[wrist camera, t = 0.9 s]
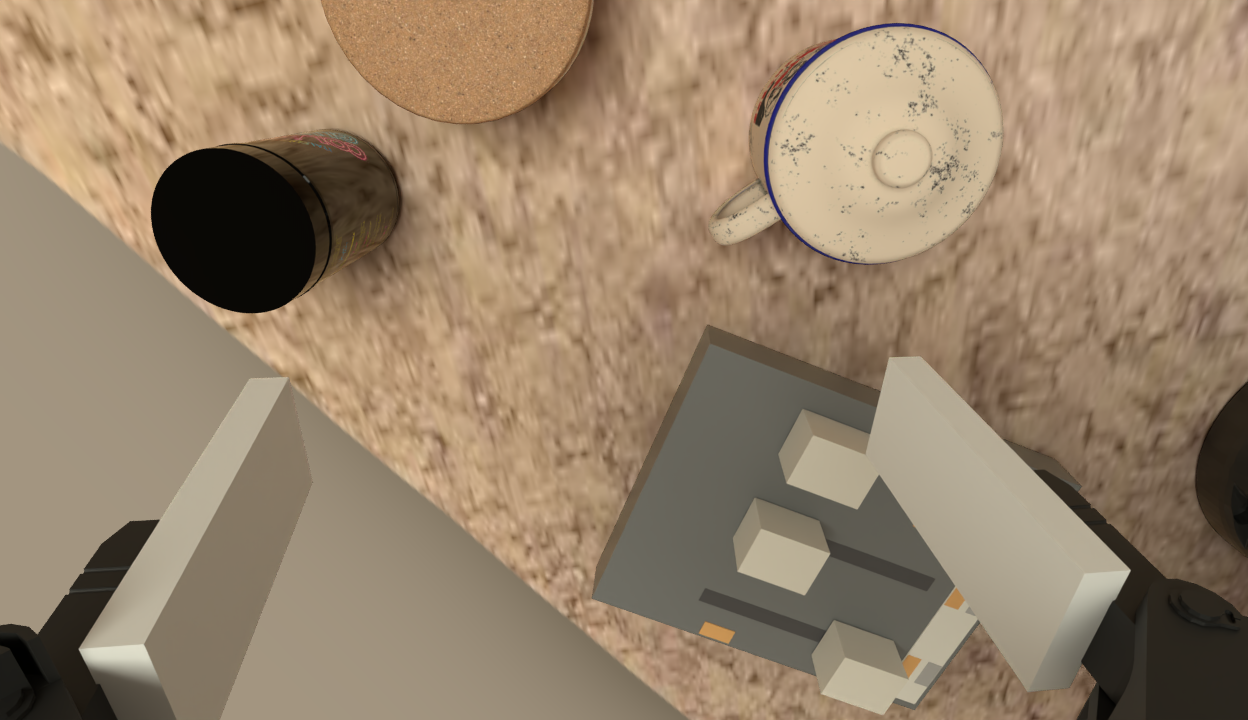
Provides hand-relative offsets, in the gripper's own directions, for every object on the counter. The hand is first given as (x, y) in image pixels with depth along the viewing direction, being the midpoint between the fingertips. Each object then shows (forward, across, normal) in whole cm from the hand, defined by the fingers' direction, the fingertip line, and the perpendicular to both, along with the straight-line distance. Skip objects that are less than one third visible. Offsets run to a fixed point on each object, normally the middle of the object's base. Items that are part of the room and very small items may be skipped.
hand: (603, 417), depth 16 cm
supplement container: (+26, +11, +3) cm, 29 cm away
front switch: (+17, -14, +14) cm, 26 cm away
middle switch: (+16, -12, +19) cm, 28 cm away
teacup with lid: (+22, -13, -1) cm, 26 cm away
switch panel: (+19, -15, +21) cm, 32 cm away
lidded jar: (+26, +3, -7) cm, 27 cm away
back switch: (+14, -17, +28) cm, 36 cm away
